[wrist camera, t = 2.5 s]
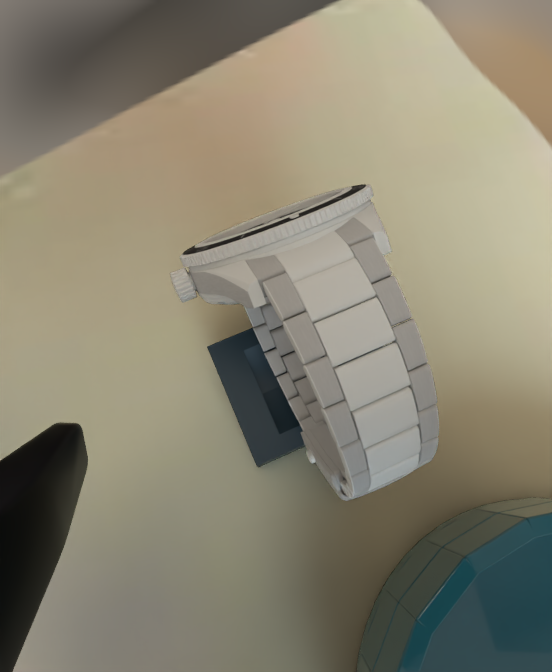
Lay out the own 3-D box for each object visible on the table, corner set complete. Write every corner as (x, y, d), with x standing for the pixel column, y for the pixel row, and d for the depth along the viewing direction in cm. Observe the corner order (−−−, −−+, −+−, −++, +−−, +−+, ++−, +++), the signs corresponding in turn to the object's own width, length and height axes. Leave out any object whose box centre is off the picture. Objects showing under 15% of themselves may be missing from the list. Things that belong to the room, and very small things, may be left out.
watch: (320, 272, 21) (369, 74, 11) (408, 450, 20) (573, 424, 9) (196, 323, 21) (119, 166, 10) (275, 513, 19) (282, 563, 8)
